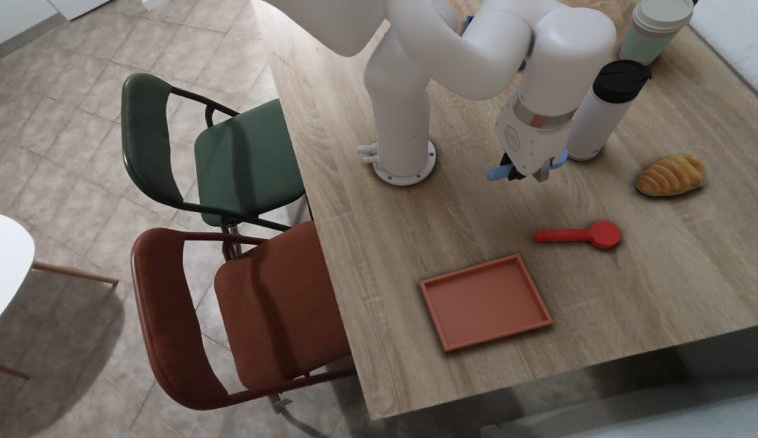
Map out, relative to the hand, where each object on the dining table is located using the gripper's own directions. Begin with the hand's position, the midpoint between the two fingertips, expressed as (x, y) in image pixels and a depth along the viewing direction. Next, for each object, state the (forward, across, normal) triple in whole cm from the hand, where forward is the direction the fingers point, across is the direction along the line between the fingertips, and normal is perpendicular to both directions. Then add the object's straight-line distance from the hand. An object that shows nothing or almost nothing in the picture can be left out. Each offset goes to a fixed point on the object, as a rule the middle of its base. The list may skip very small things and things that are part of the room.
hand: (513, 169), depth 73 cm
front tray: (+10, +17, -12) cm, 23 cm away
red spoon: (+10, +12, +7) cm, 17 cm away
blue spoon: (0, 0, +2) cm, 2 cm away
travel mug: (+10, -4, +17) cm, 20 cm away
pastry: (+10, +8, +26) cm, 28 cm away
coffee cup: (+10, -18, +36) cm, 42 cm away
